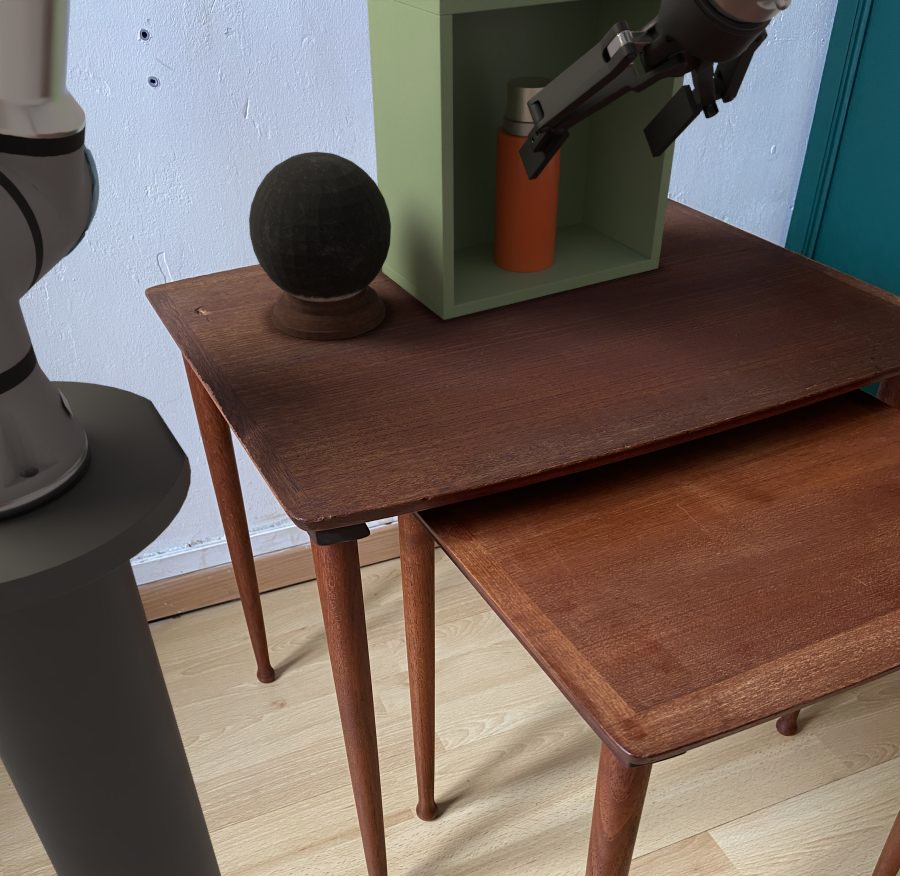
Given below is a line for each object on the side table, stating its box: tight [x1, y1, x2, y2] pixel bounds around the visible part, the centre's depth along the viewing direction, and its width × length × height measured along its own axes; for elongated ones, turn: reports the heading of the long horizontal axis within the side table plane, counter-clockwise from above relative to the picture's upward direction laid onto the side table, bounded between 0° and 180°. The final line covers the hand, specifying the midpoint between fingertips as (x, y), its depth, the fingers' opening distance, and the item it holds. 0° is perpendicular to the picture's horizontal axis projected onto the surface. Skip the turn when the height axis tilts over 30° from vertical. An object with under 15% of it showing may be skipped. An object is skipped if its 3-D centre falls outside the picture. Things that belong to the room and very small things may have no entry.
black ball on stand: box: [248, 151, 391, 341], centre depth 90 cm, size 13×13×15 cm
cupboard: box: [366, 0, 685, 321], centre depth 94 cm, size 14×26×27 cm, turn 119°
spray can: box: [494, 77, 561, 272], centre depth 96 cm, size 6×6×17 cm
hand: (590, 154), depth 86 cm, fingers open, 13 cm apart
